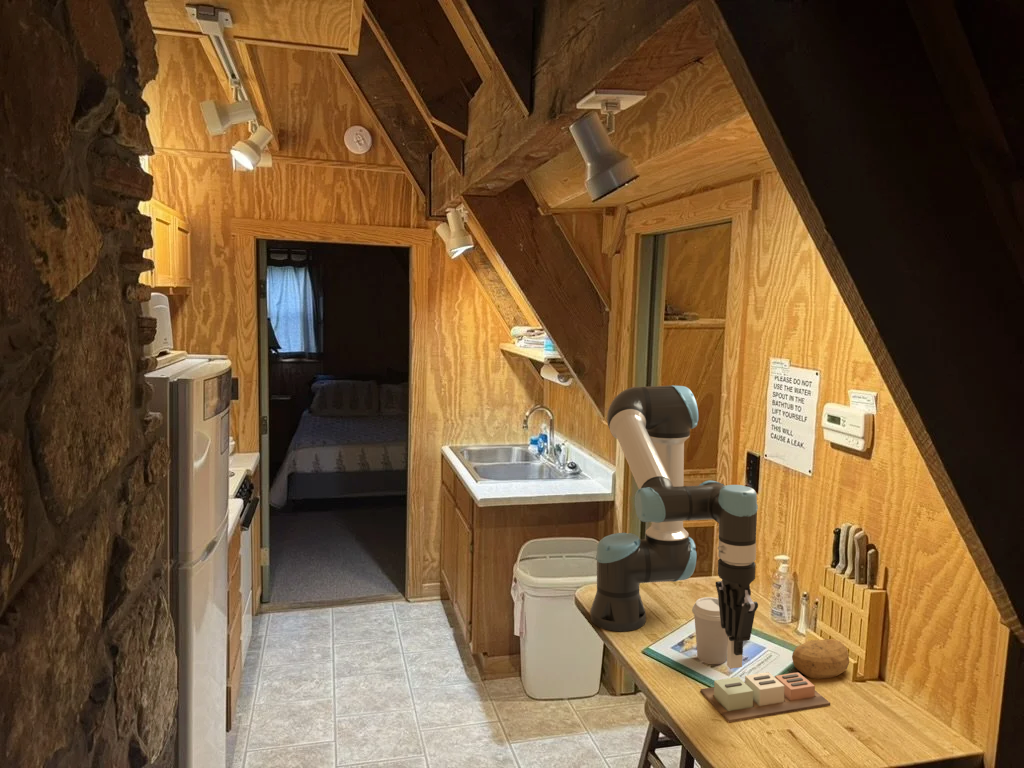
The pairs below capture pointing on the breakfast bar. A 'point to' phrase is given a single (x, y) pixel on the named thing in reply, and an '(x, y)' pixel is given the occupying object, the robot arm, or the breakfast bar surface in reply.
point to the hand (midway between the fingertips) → (734, 666)
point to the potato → (821, 658)
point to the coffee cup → (709, 631)
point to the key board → (765, 706)
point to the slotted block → (733, 694)
